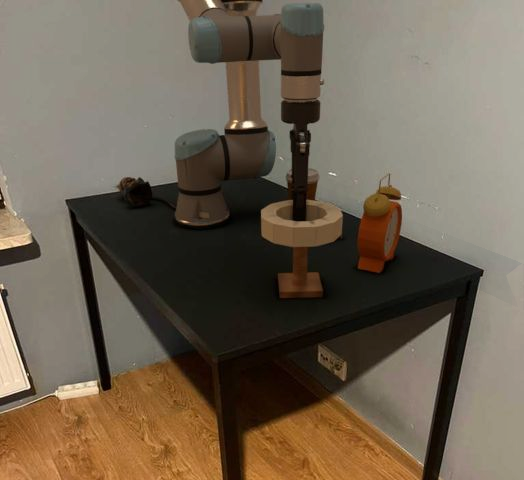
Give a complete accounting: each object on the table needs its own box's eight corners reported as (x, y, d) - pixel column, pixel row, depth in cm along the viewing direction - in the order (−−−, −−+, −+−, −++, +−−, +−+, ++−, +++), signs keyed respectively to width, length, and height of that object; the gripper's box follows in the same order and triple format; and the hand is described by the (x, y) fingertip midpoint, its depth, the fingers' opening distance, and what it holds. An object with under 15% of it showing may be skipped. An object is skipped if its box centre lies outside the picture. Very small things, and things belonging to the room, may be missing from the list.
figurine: (123, 192, 158) (109, 173, 168) (133, 216, 164) (119, 197, 174) (150, 180, 160) (134, 162, 170) (159, 204, 166) (144, 186, 176)
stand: (279, 298, 114) (279, 236, 107) (277, 279, 122) (277, 220, 115) (322, 297, 114) (325, 235, 107) (318, 278, 122) (320, 219, 115)
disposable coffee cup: (283, 209, 161) (283, 167, 154) (315, 208, 162) (316, 166, 155) (287, 220, 153) (287, 177, 146) (320, 219, 154) (322, 176, 147)
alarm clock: (379, 276, 122) (390, 187, 111) (354, 271, 125) (361, 183, 114) (398, 255, 132) (409, 170, 121) (373, 250, 134) (382, 167, 124)
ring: (247, 238, 109) (246, 218, 106) (283, 213, 120) (283, 195, 118) (321, 252, 102) (322, 232, 100) (352, 225, 114) (353, 206, 112)
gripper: (325, 106, 97) (320, 232, 110) (316, 92, 110) (312, 206, 123) (283, 107, 97) (282, 233, 110) (278, 93, 110) (279, 207, 123)
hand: (298, 219), depth 116 cm, fingers closed on ring, 3 cm apart
